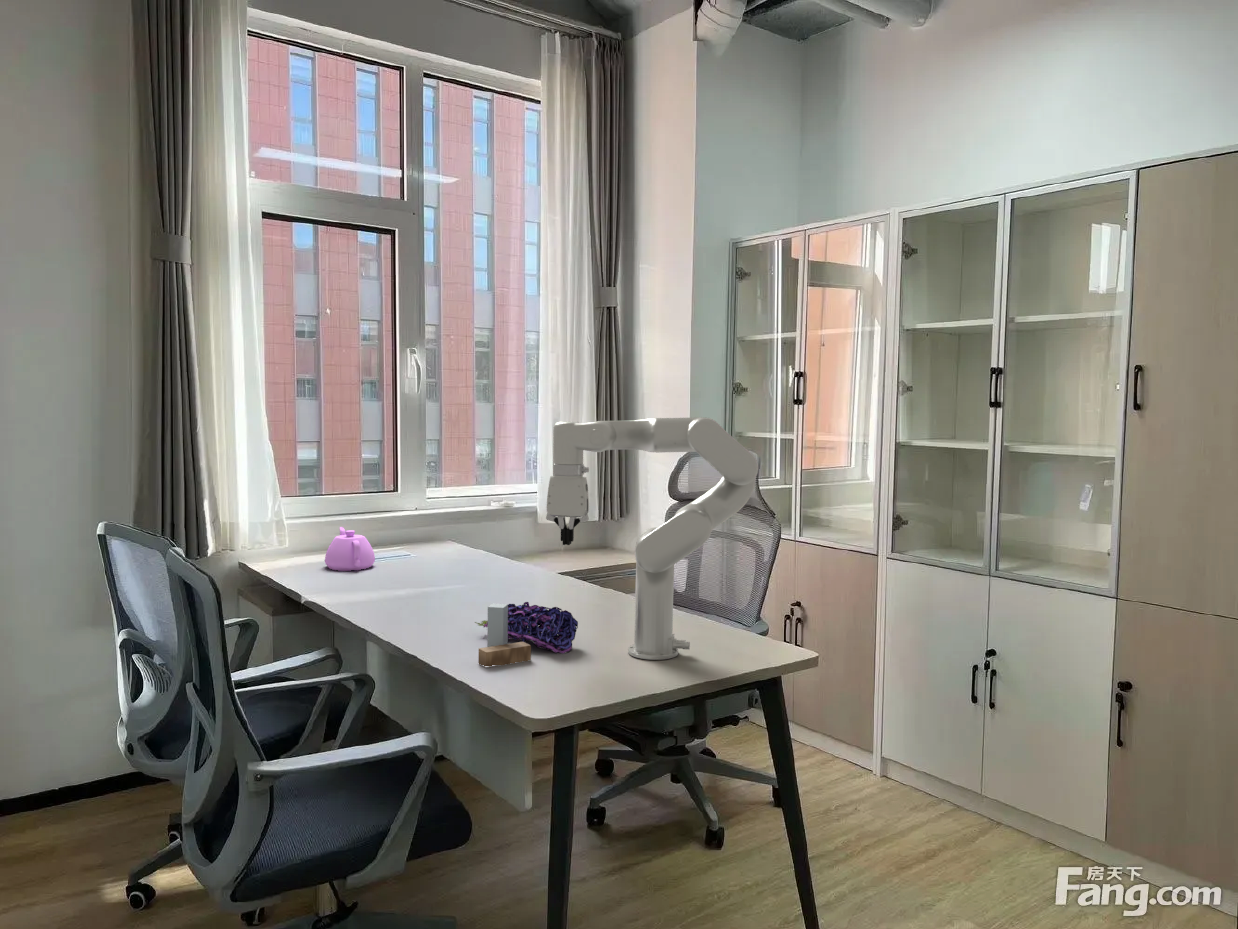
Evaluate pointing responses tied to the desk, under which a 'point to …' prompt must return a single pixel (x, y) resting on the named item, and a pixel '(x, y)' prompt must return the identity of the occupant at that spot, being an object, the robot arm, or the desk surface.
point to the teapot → (349, 552)
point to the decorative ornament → (541, 626)
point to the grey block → (497, 625)
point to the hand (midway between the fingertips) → (567, 544)
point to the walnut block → (504, 654)
